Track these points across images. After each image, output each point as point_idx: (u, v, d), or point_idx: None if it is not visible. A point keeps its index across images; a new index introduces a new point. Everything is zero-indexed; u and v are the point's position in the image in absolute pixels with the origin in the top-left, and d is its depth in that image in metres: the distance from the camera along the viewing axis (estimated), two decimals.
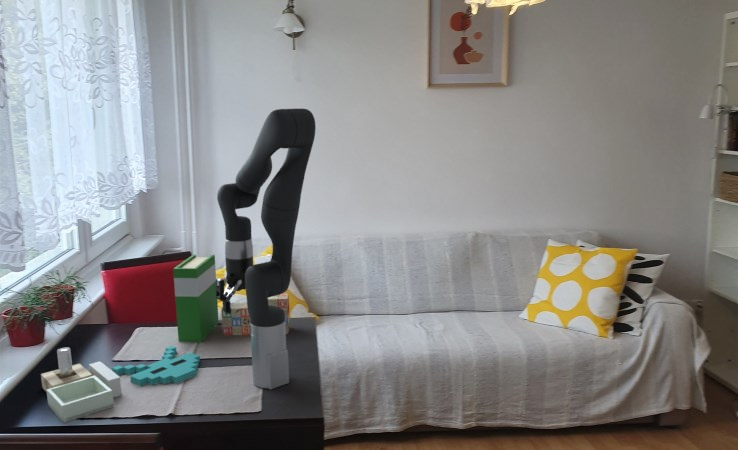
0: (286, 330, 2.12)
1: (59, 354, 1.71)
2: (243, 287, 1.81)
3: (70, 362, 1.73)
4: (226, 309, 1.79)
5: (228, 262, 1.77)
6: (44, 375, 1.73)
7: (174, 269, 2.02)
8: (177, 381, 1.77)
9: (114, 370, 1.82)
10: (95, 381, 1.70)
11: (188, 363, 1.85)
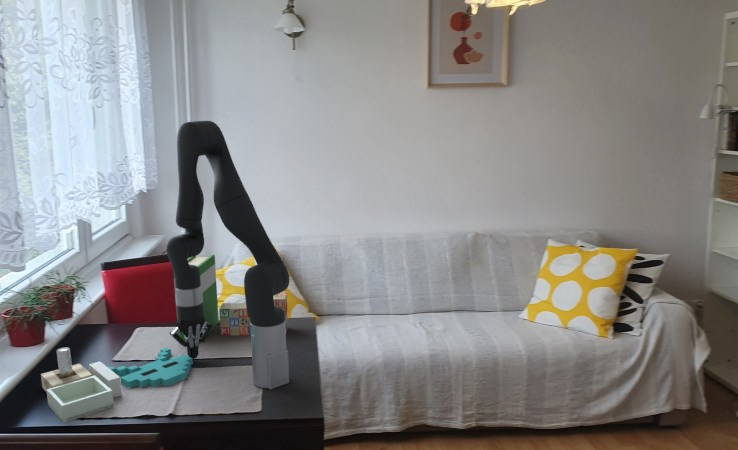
0: None
1: (59, 354, 1.71)
2: (194, 332, 1.89)
3: (70, 362, 1.73)
4: (190, 354, 1.90)
5: (178, 309, 1.85)
6: (44, 375, 1.73)
7: None
8: (166, 384, 1.75)
9: None
10: (95, 381, 1.70)
11: (179, 366, 1.83)
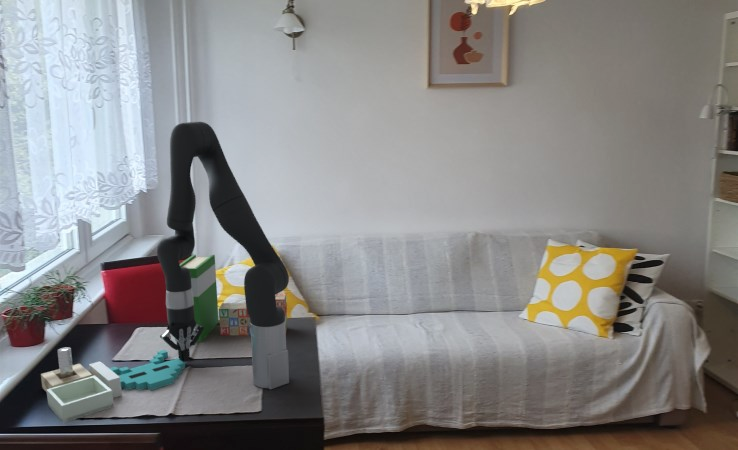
0: None
1: (60, 353, 1.71)
2: (185, 335, 1.87)
3: (70, 362, 1.73)
4: (181, 357, 1.88)
5: (169, 312, 1.83)
6: (44, 375, 1.73)
7: None
8: (151, 388, 1.73)
9: None
10: (95, 381, 1.70)
11: (169, 370, 1.81)
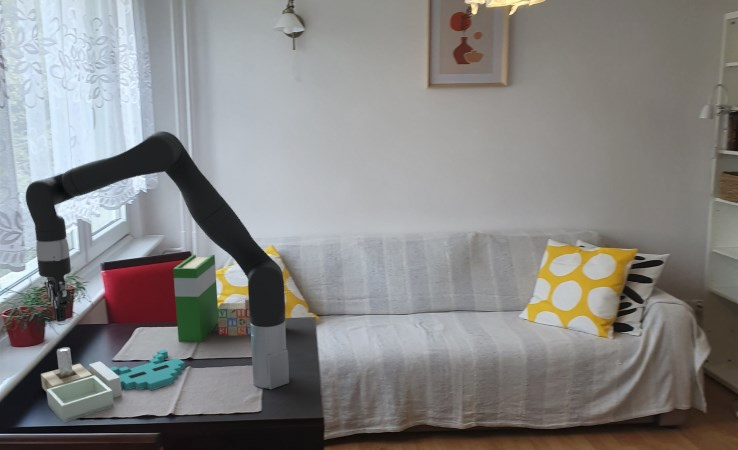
0: None
1: (59, 354, 1.71)
2: None
3: (70, 362, 1.73)
4: None
5: None
6: (44, 375, 1.73)
7: (174, 269, 2.02)
8: (151, 388, 1.73)
9: None
10: (95, 381, 1.70)
11: (169, 370, 1.81)
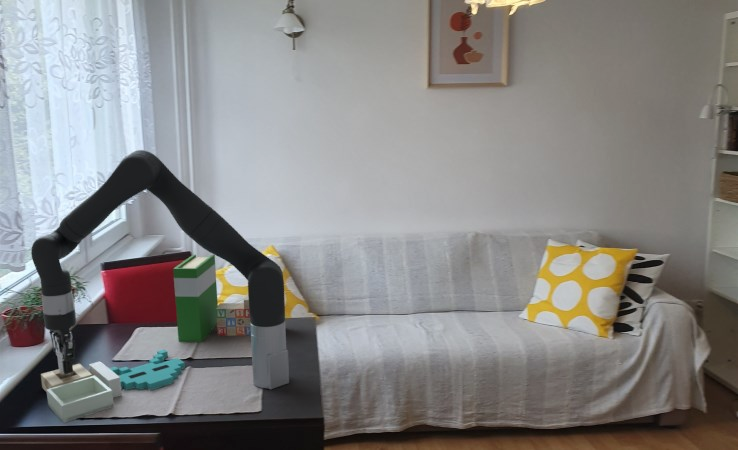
0: None
1: (59, 354, 1.71)
2: None
3: None
4: None
5: None
6: (44, 375, 1.73)
7: (174, 269, 2.02)
8: (151, 388, 1.73)
9: None
10: (95, 381, 1.70)
11: (169, 370, 1.81)
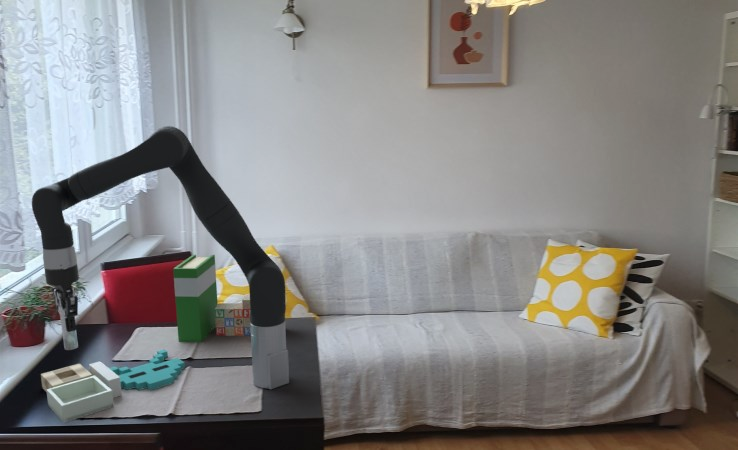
0: None
1: (61, 311, 1.64)
2: None
3: None
4: None
5: None
6: (44, 375, 1.73)
7: (174, 269, 2.02)
8: (151, 388, 1.73)
9: None
10: (95, 381, 1.70)
11: (169, 370, 1.81)
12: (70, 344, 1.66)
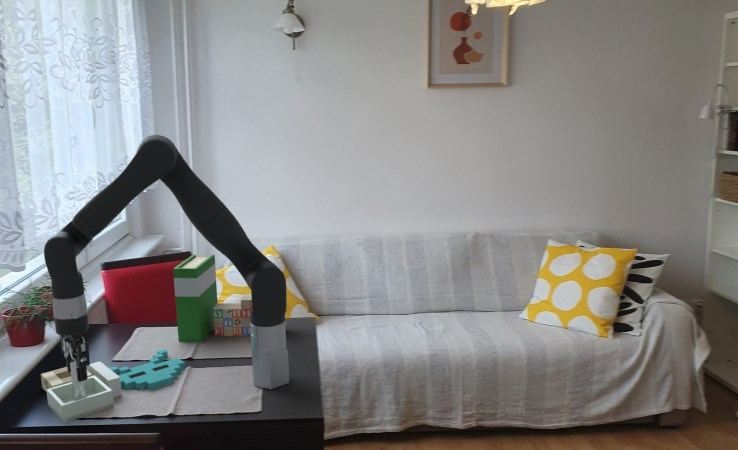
0: None
1: (72, 366, 1.61)
2: None
3: None
4: None
5: None
6: (44, 375, 1.73)
7: (174, 269, 2.02)
8: (151, 388, 1.73)
9: None
10: (95, 381, 1.70)
11: (169, 370, 1.81)
12: None
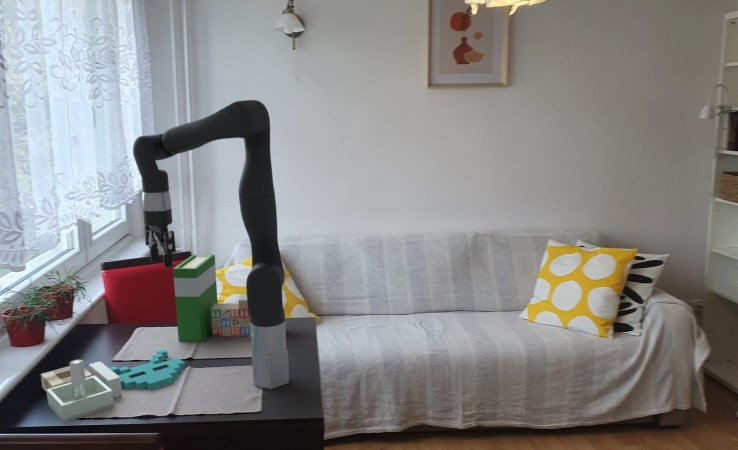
0: None
1: (72, 366, 1.61)
2: (156, 241, 1.81)
3: (83, 375, 1.63)
4: None
5: None
6: (44, 375, 1.73)
7: (174, 269, 2.02)
8: (151, 387, 1.73)
9: None
10: (95, 381, 1.70)
11: (168, 370, 1.81)
12: None
